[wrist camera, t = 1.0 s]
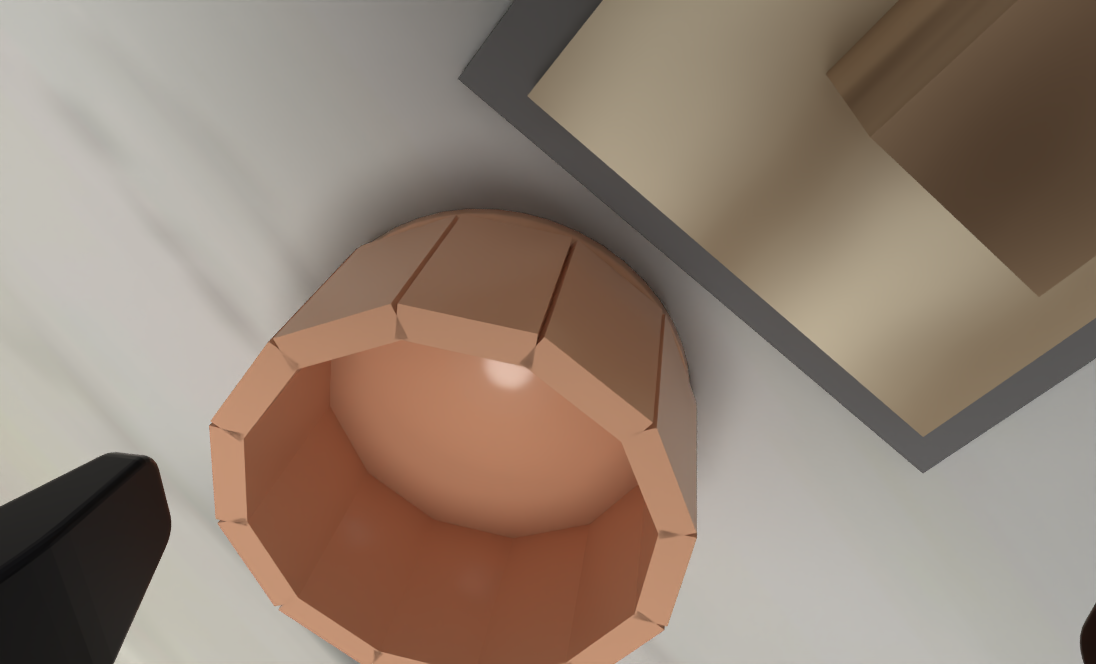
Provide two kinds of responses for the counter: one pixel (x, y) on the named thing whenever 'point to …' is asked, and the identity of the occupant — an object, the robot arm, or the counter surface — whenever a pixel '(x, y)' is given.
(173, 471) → the counter surface
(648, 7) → the lid
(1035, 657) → the counter surface
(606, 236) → the counter surface
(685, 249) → the mat
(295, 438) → the bowl
